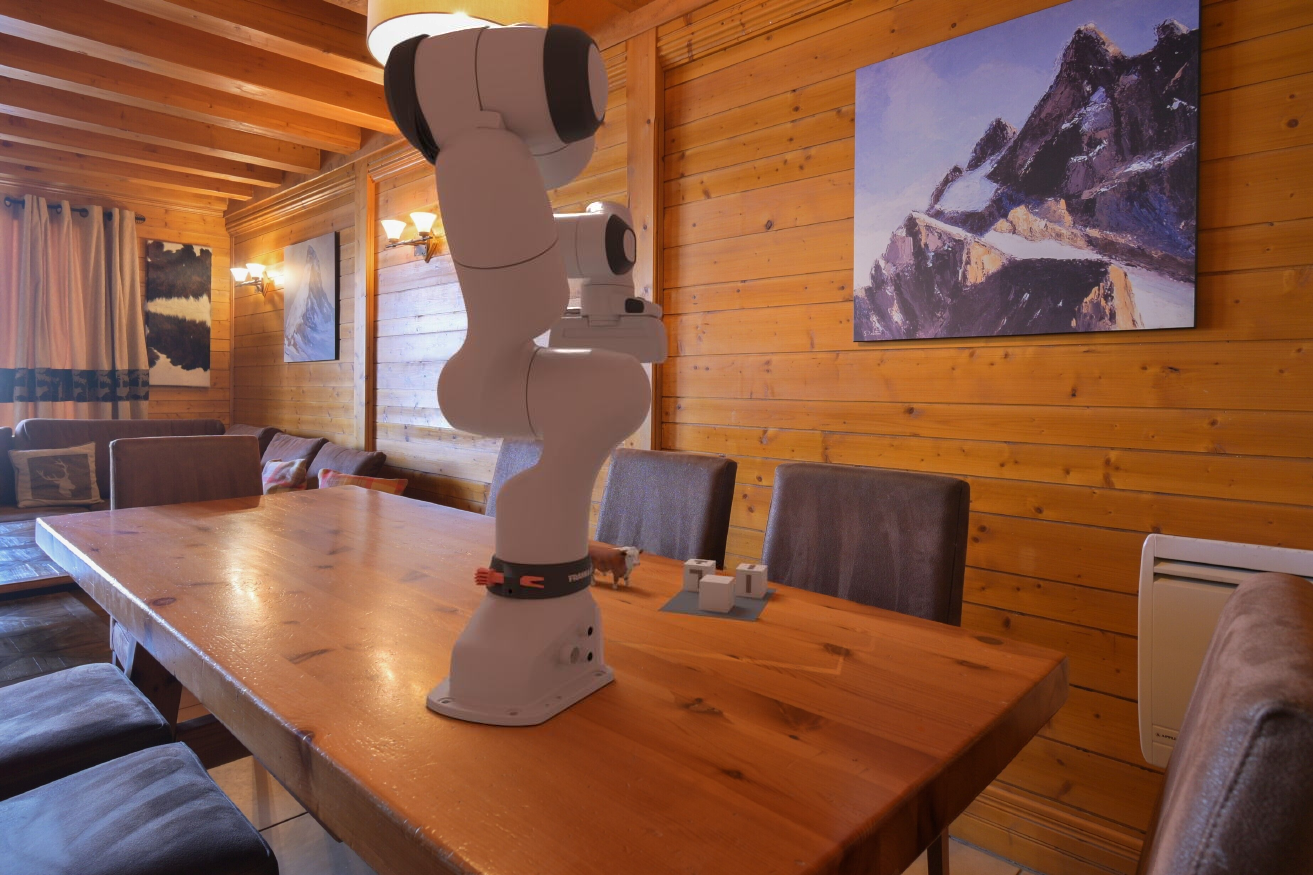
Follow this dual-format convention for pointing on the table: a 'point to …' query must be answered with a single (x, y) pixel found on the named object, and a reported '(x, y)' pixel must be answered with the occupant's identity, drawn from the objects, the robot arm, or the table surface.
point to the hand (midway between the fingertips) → (606, 391)
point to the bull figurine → (614, 562)
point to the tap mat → (740, 611)
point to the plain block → (716, 593)
